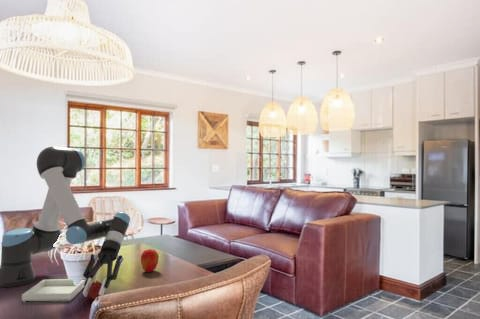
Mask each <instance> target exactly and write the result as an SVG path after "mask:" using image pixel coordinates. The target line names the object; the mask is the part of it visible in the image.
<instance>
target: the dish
mask: <svg viewBox="0 0 480 319" xmlns="http://www.w3.org/2000/svg"><path fill="white" fill-rule="evenodd" d="M70 279H71V278H63V279H62V278H61V279H60V278H59V279H58V278H57V279H56V278H54V279H53V278H52V279H42V280H41V281H39V282H38V283H37V284H35V285H33V286H32V287H31V288H30V289H28V290H26V291H25V292H23V293H21V302H22V301H53V302H71V301H72V300H73V299H74V298H75V297H76V296H77V295H78V294H79V293H80V292H81V291H82V290H84V288H85V286H84V283H85V280H81V281H80V282H79V283H78V284H77V285H74V283H73V282H74V281H73V280H70ZM53 302H52V303H53Z"/></svg>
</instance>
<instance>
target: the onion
mask: <svg viewBox="0 0 480 319" xmlns="http://www.w3.org/2000/svg"><path fill="white" fill-rule="evenodd" d="M102 283H103V282H100V281H99V280H98V279H96V280H95V282H94V283H92V284H91V287H90V289H89V292H88V294H89V297H90V298H91V299H93V300H94V299H95V298H96V297H98V296H99V291H100V289H101V286H102ZM105 293H106V291H105V292H104V294H105Z"/></svg>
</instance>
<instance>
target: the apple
mask: <svg viewBox="0 0 480 319" xmlns="http://www.w3.org/2000/svg"><path fill="white" fill-rule="evenodd" d="M159 257H160V256H159V253H158V252H157V251H156V250H155V249H146V250H144V251H143V252H142V254H141V256H140V264H141V267H142V270H143V271H145V273H151V272H153V271H155V270H156V268H157V266H158V264H159Z"/></svg>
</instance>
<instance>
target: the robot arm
mask: <svg viewBox="0 0 480 319" xmlns="http://www.w3.org/2000/svg"><path fill="white" fill-rule="evenodd" d="M85 165H86V158H85V156H84V154H83V152H82V151H81V150H80V149H77V148H72V147H63V146H60V147H58V146H49V147H45V148H43V149H42V150H41V151H40V152H39V153H38V155H37V157H36V168H37V173H38V174H39V177H40V178H41V179H43V180H44V181H45V183H46V185H47V188H48V190H47V193H46V195H45V199H44V203H43V206H42V209H41V212H40V216H39V218H38V220H37V221H35V222H34V223H33V226H32V228H29V227H28V228H27V227H25V228H24V227H22V228H21V227H20V228H16V229H12V230H8V231H6V232H5V233H4V234H3V235H2V238H1V239H2V241H1V243H0V244H1V256H0V259H1V260H0V288H12V287H13V288H14V287H18V286H24V285H27V284H30V283H32V282H34V281H35V280H36V273H35V270H34V267H33V264H32V256H33V255H37V254H40V253H45V252H49V251H51V250H54V249H56V248H55V247H53V244H54V243H55V242H56V241H57V239H58V237H59V235H60V234H62V231H61V228H60V227H61V226H60V225H59V220H60V217H62V218H63V220H64V223H65V225H66V226H67V230H66V231H65V238H66V241H67V242H68V243H69V244H70V245H78V244H83V243H87V242H89V241H94V240H99V239H101V238H104V241H103V242H102V245H101V248H100V250H99V252H98V254H94V253H91V255H90V259H89V261H88V264H87V266H86V268H85V270H84V272H83V274H82V276H83V278H84V279H86V281H85V283H84V286H85V287H84V288H83V291H82V295H83V296H84V297H85V298H86V297H88V294H89V290H90V288H91V286H92V285H93V278H94V277H95V275H96V274H97V273H98V272H99V270H100V268H101V267H103V265H107V266H106V267H107V268H106V276H105V278H103V281H102V282H101V283H102V286H101V289H100V291H99V296H101V295H103V296H104V295H105V293H106V289H109V286H110V284H111V282H112V281H115V280H117V277H118V275H119V270H120V267H121V265H122V262H123V261H124V257H123V255H121V254H120V255H119V252H120V250H121V246H122V244H123V242H124V238H125V236H126V233H127V230H128V229H129V225H130V222H131V217H130V215H129V214H127V213H126V212H122V211H119V212H116V213H115V214H114V216H113V218H110V219H106V220H100V221H95V222H91V223H88V222H87V220H86V218H85V216H84V215H83V212H82V210H81V208H80V206H79V203H78V202H77V200H76V197H75V195H74V193H73V192H72V189H71V187H70V186H71V183H72V180H74V179H76V177H77V175H78V173H79V172H81V171H83V170H84V168H85ZM115 260H116V261H115ZM114 261H115V264H114V263H113V262H114ZM113 264H114V267H113ZM104 292H105V293H104Z"/></svg>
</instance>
